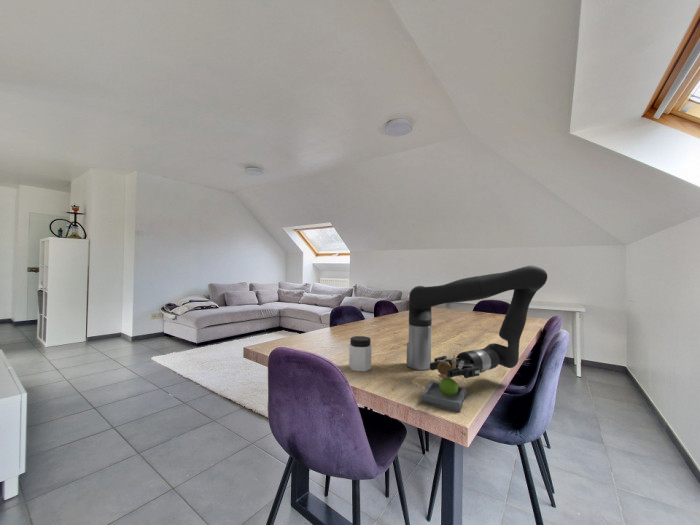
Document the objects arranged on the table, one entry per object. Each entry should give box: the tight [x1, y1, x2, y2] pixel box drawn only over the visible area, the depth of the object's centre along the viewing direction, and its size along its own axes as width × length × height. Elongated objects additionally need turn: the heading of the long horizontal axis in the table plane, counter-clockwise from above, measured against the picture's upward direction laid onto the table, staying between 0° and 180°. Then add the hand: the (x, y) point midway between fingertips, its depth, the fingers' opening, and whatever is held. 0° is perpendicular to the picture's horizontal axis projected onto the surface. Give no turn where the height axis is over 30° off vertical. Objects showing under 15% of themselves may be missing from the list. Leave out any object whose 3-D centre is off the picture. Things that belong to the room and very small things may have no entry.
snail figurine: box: [436, 354, 458, 397], centre depth 91 cm, size 5×6×12 cm
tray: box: [420, 380, 467, 413], centre depth 92 cm, size 11×13×2 cm
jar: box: [348, 335, 373, 372], centre depth 119 cm, size 9×8×12 cm
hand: (439, 370), depth 91 cm, fingers open, 6 cm apart
